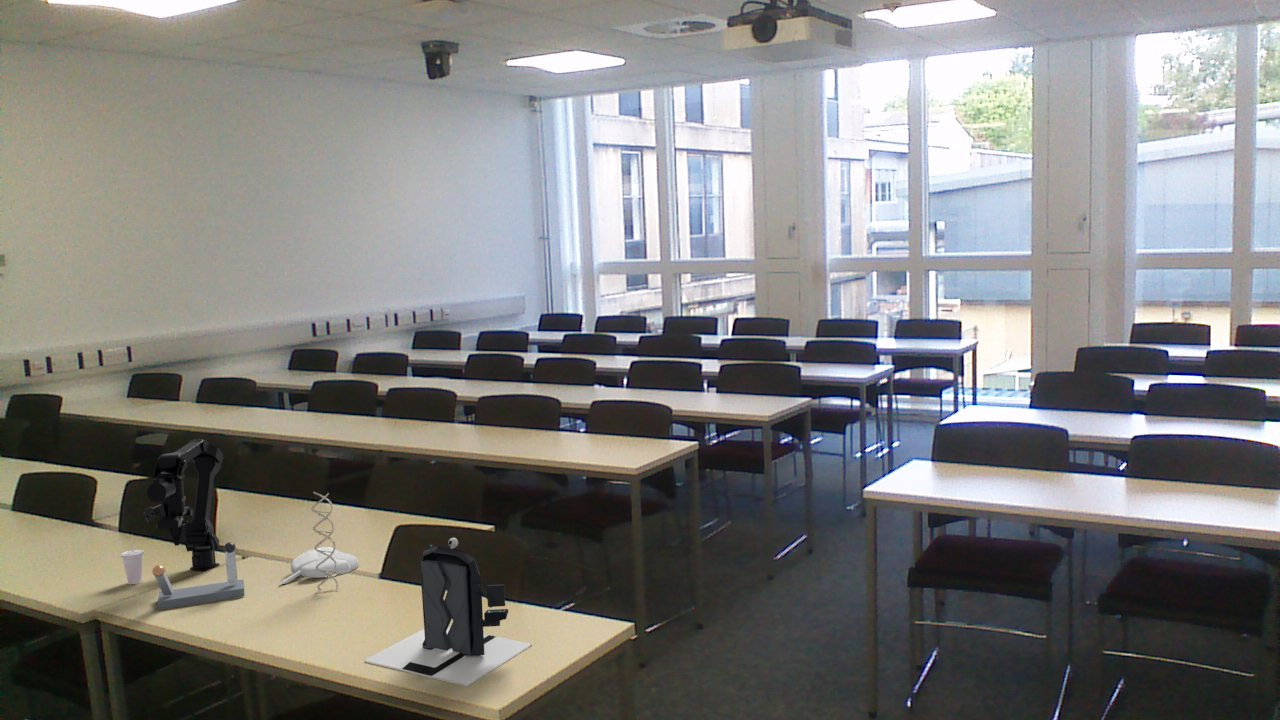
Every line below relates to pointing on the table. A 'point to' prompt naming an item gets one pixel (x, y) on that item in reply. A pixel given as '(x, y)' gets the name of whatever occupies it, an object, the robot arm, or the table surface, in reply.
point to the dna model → (325, 539)
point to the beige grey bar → (231, 562)
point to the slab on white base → (462, 645)
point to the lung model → (312, 558)
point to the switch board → (201, 594)
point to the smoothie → (133, 564)
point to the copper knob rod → (162, 580)
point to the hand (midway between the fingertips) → (177, 545)
